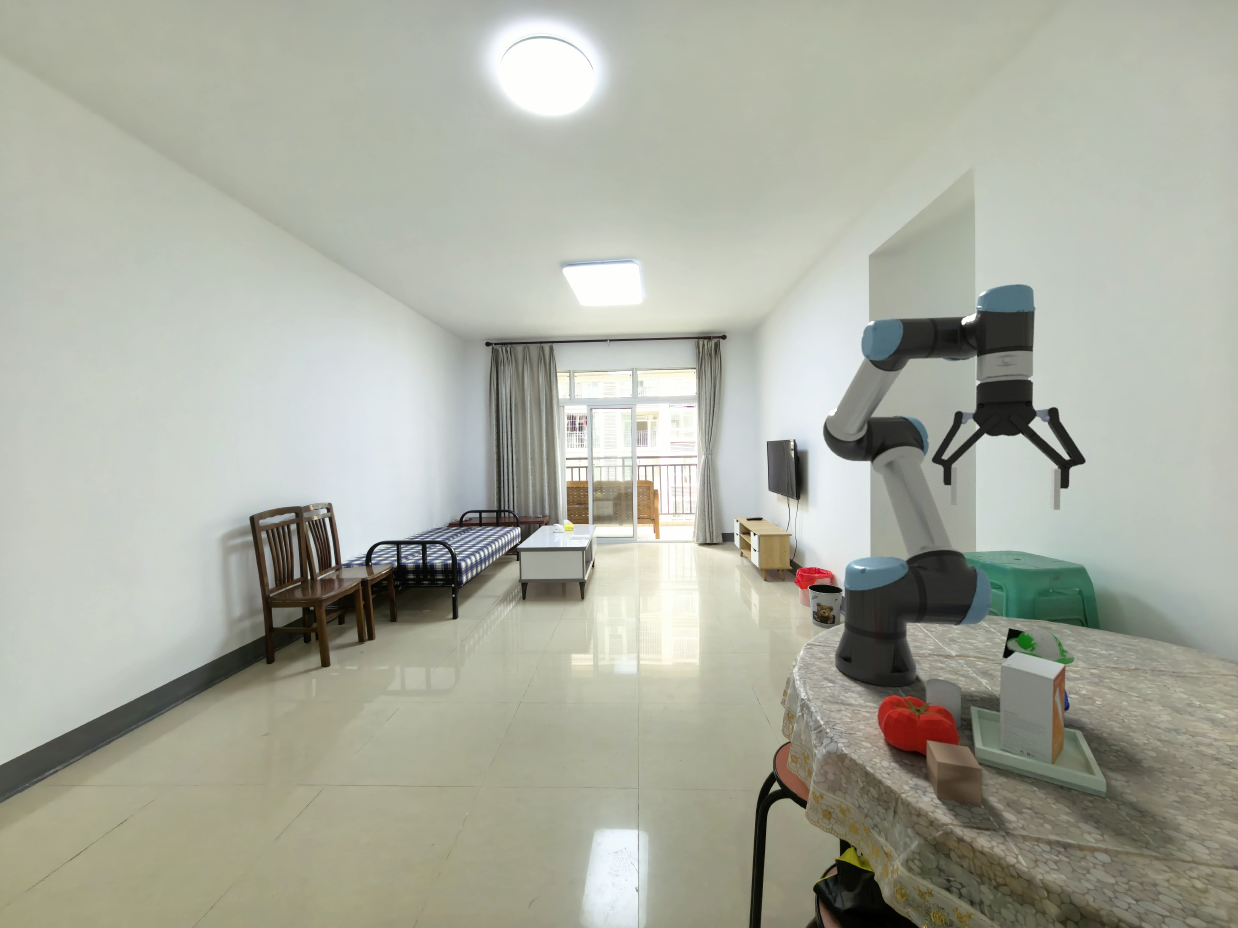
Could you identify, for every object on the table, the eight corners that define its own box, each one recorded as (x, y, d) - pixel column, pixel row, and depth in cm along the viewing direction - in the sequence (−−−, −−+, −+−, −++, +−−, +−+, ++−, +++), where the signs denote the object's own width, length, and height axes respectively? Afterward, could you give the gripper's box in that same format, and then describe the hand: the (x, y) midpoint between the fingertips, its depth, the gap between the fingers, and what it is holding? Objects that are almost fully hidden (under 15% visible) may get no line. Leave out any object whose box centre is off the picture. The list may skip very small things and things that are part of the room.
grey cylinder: (925, 722, 83) (925, 687, 83) (926, 709, 87) (926, 676, 87) (961, 731, 80) (961, 695, 80) (960, 717, 85) (960, 683, 84)
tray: (975, 761, 73) (975, 746, 72) (970, 718, 84) (970, 705, 84) (1106, 797, 65) (1106, 781, 65) (1080, 744, 77) (1080, 731, 76)
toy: (1056, 705, 88) (1057, 623, 88) (1085, 733, 80) (1087, 642, 79) (997, 697, 91) (998, 618, 91) (1019, 723, 83) (1020, 635, 82)
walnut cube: (936, 798, 65) (937, 761, 65) (926, 774, 70) (926, 740, 70) (981, 806, 63) (981, 768, 63) (967, 781, 68) (967, 746, 68)
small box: (1052, 769, 69) (1054, 679, 69) (997, 748, 74) (999, 663, 74) (1065, 748, 74) (1066, 663, 74) (1012, 729, 79) (1014, 650, 79)
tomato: (961, 775, 70) (961, 730, 69) (874, 751, 75) (875, 709, 75) (957, 741, 78) (957, 700, 78) (879, 721, 84) (879, 683, 83)
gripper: (916, 384, 86) (915, 504, 87) (1113, 371, 72) (1110, 513, 73) (918, 388, 92) (916, 500, 93) (1099, 377, 79) (1096, 508, 79)
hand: (1001, 506), depth 83 cm, fingers open, 13 cm apart
